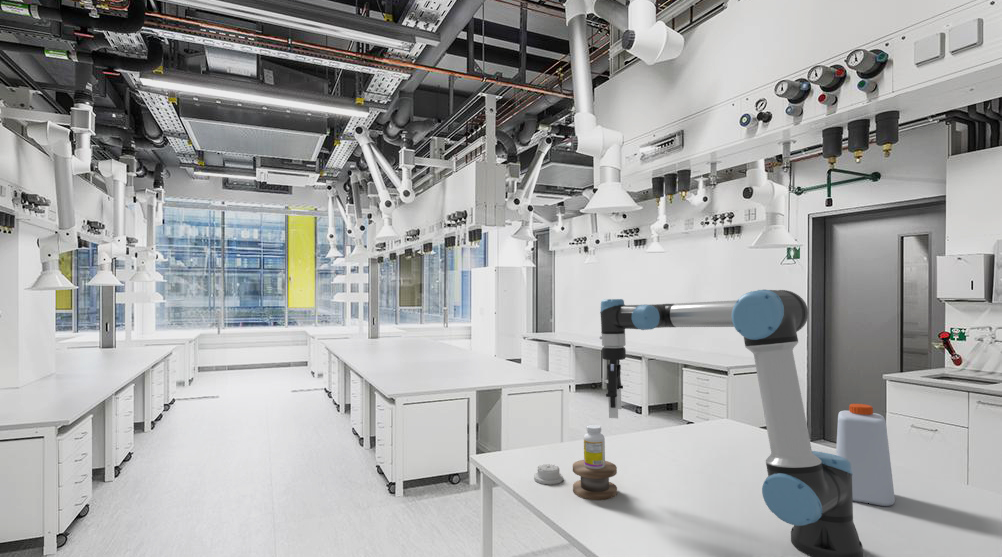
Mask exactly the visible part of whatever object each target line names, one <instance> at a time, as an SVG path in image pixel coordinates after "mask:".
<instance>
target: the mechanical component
mask: <svg viewBox="0 0 1002 557" xmlns="http://www.w3.org/2000/svg"><path fill="white" fill-rule="evenodd" d="M533 480H534V481H535V482H536V483H538V484H542V485H557V484H560V483H562V482H563V481H564V475H563V474H562V473H561V472H560V467H559V466H558V465H555V464H550V463H548V464H541V465H540V464H539V465H537V472H536V473H534V475H533Z"/></svg>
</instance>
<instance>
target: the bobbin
mask: <svg viewBox="0 0 1002 557" xmlns="http://www.w3.org/2000/svg"><path fill="white" fill-rule="evenodd" d="M617 470H618V466H617V465H616V464H614V463H613V462H611V461H607V460H605V467H604V468H602V469H589V468H587V467H585V465H584V459H581V460H578V461H575V462H573V463H572V472H573V474H575V475H577V476H579V477H580V479H579V480H577V481H575V482H573V484H572V491H573V493H574V495H575V496H577V497H579V498H582V499H586V500H590V501H593V500H594V501H602V500H603V501H606V500H609V499H613V498H615V497H616V496H617V495H618V487H617V485H616V484H615V483H613V482H610V478H612V477H615V476H616V475H617V473H618V472H617Z"/></svg>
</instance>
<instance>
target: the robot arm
mask: <svg viewBox="0 0 1002 557" xmlns="http://www.w3.org/2000/svg"><path fill="white" fill-rule="evenodd" d="M599 314H600V324H601V325H600V326H601V328H600V329H601V335H600V336H599V339H600V340H601V346H603V347H601V358H602V359H603V360H608V361H609V363H608V364H607V367H606V369H607V393H605V396H606V397H607V398H608V418H609V419H619V410H622V390H623V389H624V385H622V381H621V373H622V372H621V370H622V365H621V364H620V361H622V360H626V357H627V354H626V353H627V352H626V350H627V349H626V348H625V346H626V330H641V331H646V330H647V331H648V330H654V329H659V328H662V329H663V328H734V329H735V331H736V332H738V333H739V334H740V335H741V336H742V337H743V342H744V346H745V348H746V349H747V350H749V351H750V352H751V354H753V358H754V359H753V360H754V364H755V370H756V375H757V380H758V387H759V391H760V398H761V404H762V408H763V415H764V419H765V426H766V432H767V438H768V442H769V449H770V454H769V456H768V457H767V458H766V459H765V464H766V471H767V477H766V479H764V481H763V484H762V488H761V493H762V498H763V501H764V503H765V505H766V507H768V510H770V512H771V513H772V514H774V515H775V516H776V518H778V519H780V520H781V521H782V522H784V523H786V524H789V525H792V527H791V530H790V542H791V544H792V545H793V547H795V548H796V549H797V550H798V551H800V552H802V553H803V554H805V555H808V556H810V557H864V551H863V550H864V547H863V544H862V541H861V540H860V537H859V534H858V530H857V528H856V525H855V523H854V507H853V506H854V504H853V503H854V501H853V497H852V475H853V473H852V470H851V463H850V462H849V461H848V460H847V459H845V458H843V457H840V456H837V455H836V454H833V453H828V452H822V451H815V450H813V449H812V446H811V439H810V434H809V430H808V424H807V417H806V413H805V408H804V403H803V397H802V393H801V388H800V387H801V386H800V381H799V378H798V372H797V367H796V360H795V356H794V351H793V350H794V349H795V347H796V346H797V345H798V343H799V338H798V334H797V333H798V332H799V331H800V330H802V329H803V328H804V327H805V325H806V324H807V322H808V319H809V308H808V305H807V302H806V301H805V300H804V299H803V298H802V297H801V295H799V294H797V293H795V292H793V291H790V290H786V289H785V290H784V289H778V290H777V289H758V290H753V291H752V290H751V291H749V292H746V293H745V294H743V295H741V296H740V297H739V298H738V299H737V300H720V301H719V300H716V301H699V302H698V301H697V302H680V303H678V302H677V303H661V304H660V303H658V304H656V303H655V304H653V303H652V304H625V300H624V299H623V298H614V299H613V298H609V299H607V298H606V299H604V298H603V299H602V300H601V301H600V313H599Z"/></svg>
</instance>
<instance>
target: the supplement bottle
mask: <svg viewBox="0 0 1002 557" xmlns="http://www.w3.org/2000/svg"><path fill="white" fill-rule="evenodd" d="M586 432H587V433H585V434H584V436H583V460H584V465H585V467H587V468H589V469H602V468H604V467H605V461H606V452H605V450H606V445H605V443H606V442H605V435H604V434H602V426H601V425H599V424H589V425H586Z"/></svg>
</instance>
